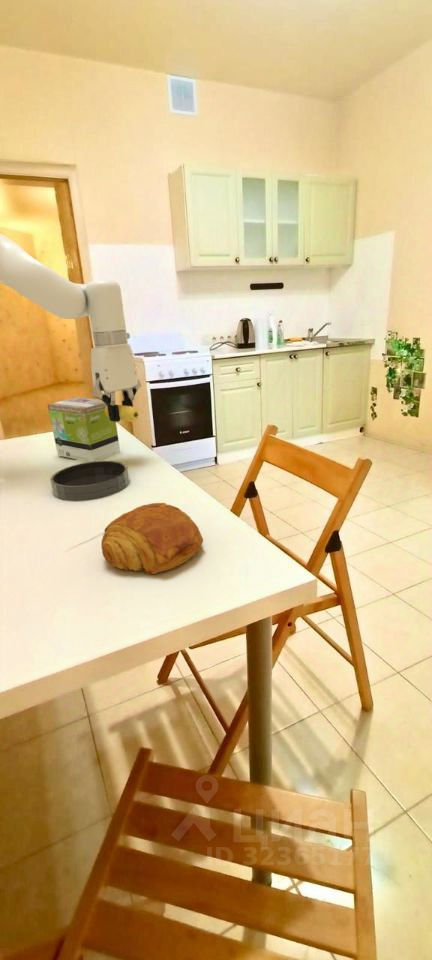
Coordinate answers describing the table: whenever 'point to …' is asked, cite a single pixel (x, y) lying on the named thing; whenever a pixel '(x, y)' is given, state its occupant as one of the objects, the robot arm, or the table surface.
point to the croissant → (151, 539)
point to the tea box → (83, 429)
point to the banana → (126, 413)
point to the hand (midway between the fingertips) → (122, 418)
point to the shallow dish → (90, 480)
